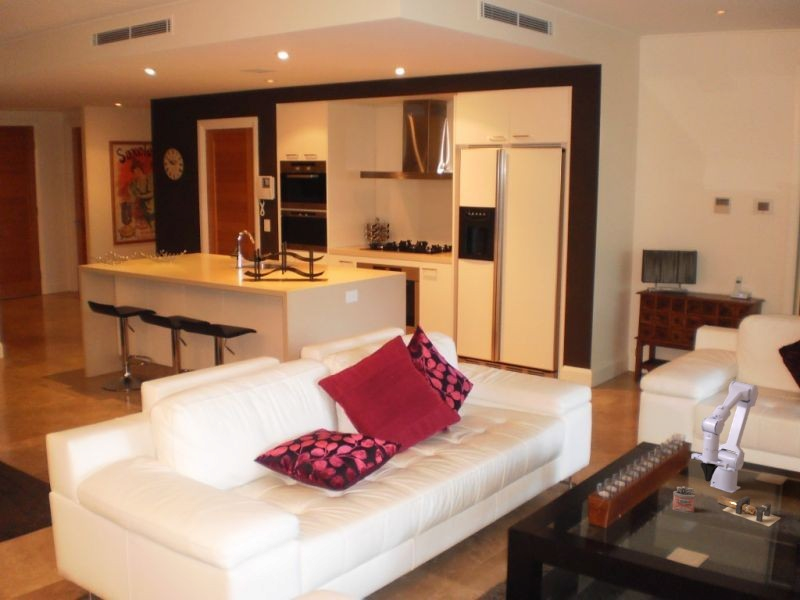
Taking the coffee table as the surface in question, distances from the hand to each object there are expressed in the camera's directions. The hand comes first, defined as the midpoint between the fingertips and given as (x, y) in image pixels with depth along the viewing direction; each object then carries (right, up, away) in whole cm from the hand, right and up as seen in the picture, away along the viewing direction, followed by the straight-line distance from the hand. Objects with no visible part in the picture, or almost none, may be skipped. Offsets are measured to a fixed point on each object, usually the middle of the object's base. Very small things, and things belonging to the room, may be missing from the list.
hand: (708, 480), depth 329 cm
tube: (+8, -9, -7) cm, 14 cm away
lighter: (-13, -10, -8) cm, 18 cm away
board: (+12, -11, -11) cm, 20 cm away
